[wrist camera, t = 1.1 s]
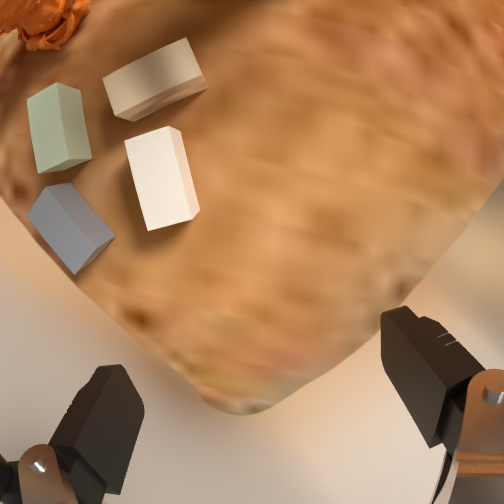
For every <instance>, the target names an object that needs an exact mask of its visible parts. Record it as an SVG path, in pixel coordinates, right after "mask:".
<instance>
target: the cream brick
mask: <svg viewBox="0 0 504 504" xmlns="http://www.w3.org/2000/svg"><path fill="white" fill-rule="evenodd" d="M125 146H126V150H127V155H128V159H129V163H130V167H131V171H132V175H133V179H134V183H135V187H136V191H137V194H138V198H139V202H140V205H141V209H142V212H143V216H144V219H145V223H146V226H147V230H148V231H150V230H154V229H157V228H161V227H165V226H169V225H172V224H176V223H180V222H184V221H188V220H192V219H193V218H194V217H195V215H196V214H197V213H198V212H199V211H200V208H199V205H198V201H197V197H196V193H195V189H194V185H193V181H192V177H191V173H190V169H189V165H188V161H187V157H186V153H185V149H184V145H183V140H182V136H181V132H180V131H179V130H176V129H174V128H172V127H170V126H167V127H163V128H160V129H157V130H154V131H151V132H148V133H145V134H142V135H139V136H136V137H133V138H130V139H128V140H125Z"/></svg>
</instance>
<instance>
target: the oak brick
mask: <svg viewBox="0 0 504 504" xmlns="http://www.w3.org/2000/svg"><path fill="white" fill-rule="evenodd" d="M102 79H103V82H104V85H105V88H106V91H107V94H108V97H109V100H110V103H111V106H112V109H113V112H114V115H115V116H117V117H120V118H123V119H126V120H129V121H132V122H135V121H137V120H139V119H141V118H143V117H145V116H147V115H149V114H151V113H153V112H155V111H157V110H159V109H161V108H163V107H166V106H168V105H170V104H172V103H174V102H177V101H179V100H181V99H184V98H186V97H188V96H191V95H193V94H195V93H198V92H200V91H203V90H205V89H208V87H207V84H206V82H205V79H204V77H203V75H202V72H201V70H200V67H199V65H198V63H197V60H196V58H195V55H194V53H193V51H192V49H191V47H190V45H189V42H188V40H187V38H183V39H181V40H179V41H176V42H174V43H172V44H169V45H167V46H165V47H162V48H160V49H158V50H156V51H154V52H152V53H150V54H147V55H145V56H143V57H141V58H139V59H137V60H135V61H133V62H131V63H129V64H128V65H126V66H124V67H122V68H120V69H118V70H116V71H115V72H113V73H111V74H109V75H108V76H106V77H104V78H102Z"/></svg>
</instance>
